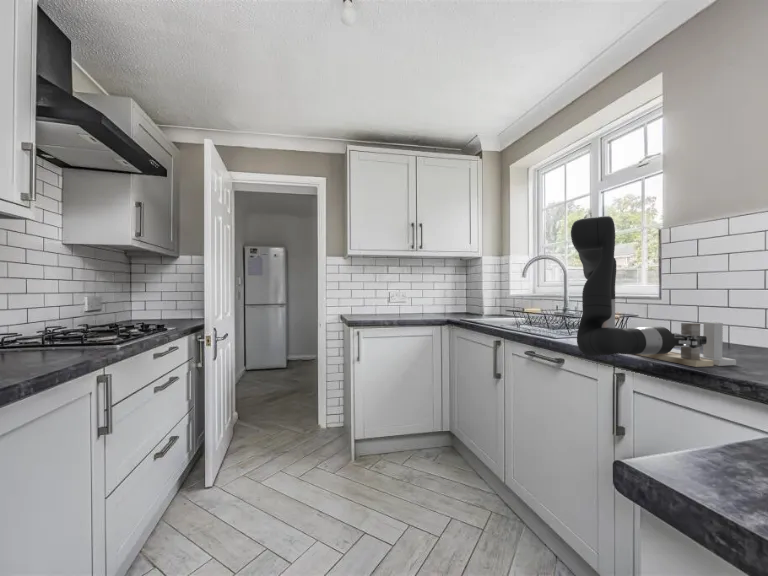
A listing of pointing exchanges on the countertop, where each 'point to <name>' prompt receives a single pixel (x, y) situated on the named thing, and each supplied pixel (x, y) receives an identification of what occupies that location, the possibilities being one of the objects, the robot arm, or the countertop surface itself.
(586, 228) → the robot arm
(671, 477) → the countertop surface
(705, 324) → the grey upright bracket
